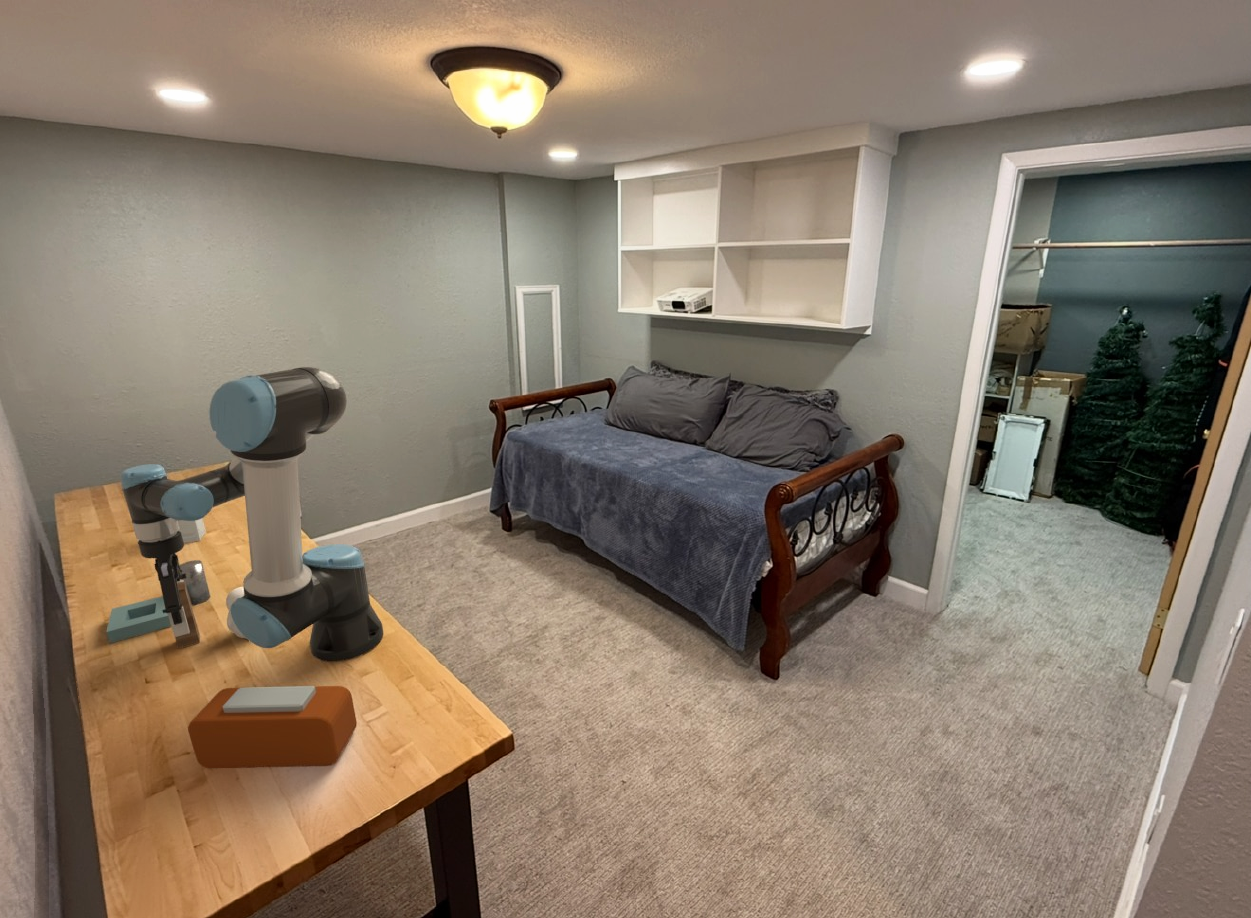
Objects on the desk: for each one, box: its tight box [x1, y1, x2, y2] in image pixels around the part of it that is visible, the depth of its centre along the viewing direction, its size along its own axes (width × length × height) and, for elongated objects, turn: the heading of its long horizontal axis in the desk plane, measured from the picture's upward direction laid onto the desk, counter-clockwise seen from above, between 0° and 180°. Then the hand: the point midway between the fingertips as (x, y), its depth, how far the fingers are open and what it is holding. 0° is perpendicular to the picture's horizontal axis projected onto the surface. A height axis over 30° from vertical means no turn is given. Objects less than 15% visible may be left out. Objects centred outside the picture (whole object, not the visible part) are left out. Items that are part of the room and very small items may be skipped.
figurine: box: [225, 586, 247, 639], centre depth 138 cm, size 7×8×12 cm
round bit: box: [179, 559, 211, 606], centre depth 152 cm, size 5×5×10 cm
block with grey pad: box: [187, 685, 357, 769], centre depth 103 cm, size 24×8×11 cm, turn 91°
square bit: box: [174, 582, 201, 649], centre depth 134 cm, size 4×4×14 cm
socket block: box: [105, 595, 172, 644], centre depth 143 cm, size 12×12×3 cm
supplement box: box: [178, 518, 207, 544], centre depth 188 cm, size 7×7×13 cm
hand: (182, 620), depth 135 cm, fingers open, 13 cm apart
